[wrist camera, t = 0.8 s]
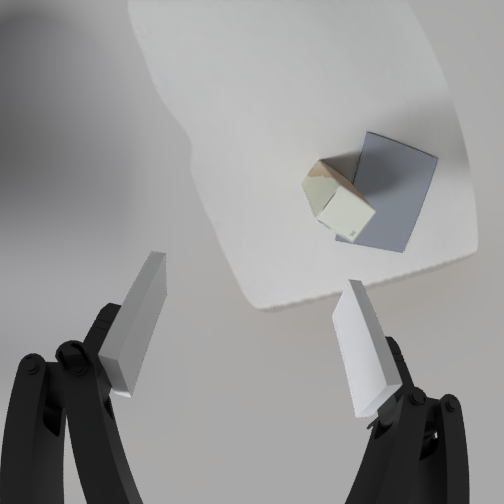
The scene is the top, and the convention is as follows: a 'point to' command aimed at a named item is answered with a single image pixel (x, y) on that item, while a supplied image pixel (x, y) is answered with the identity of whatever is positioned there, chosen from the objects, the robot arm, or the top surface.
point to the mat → (391, 191)
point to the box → (336, 202)
